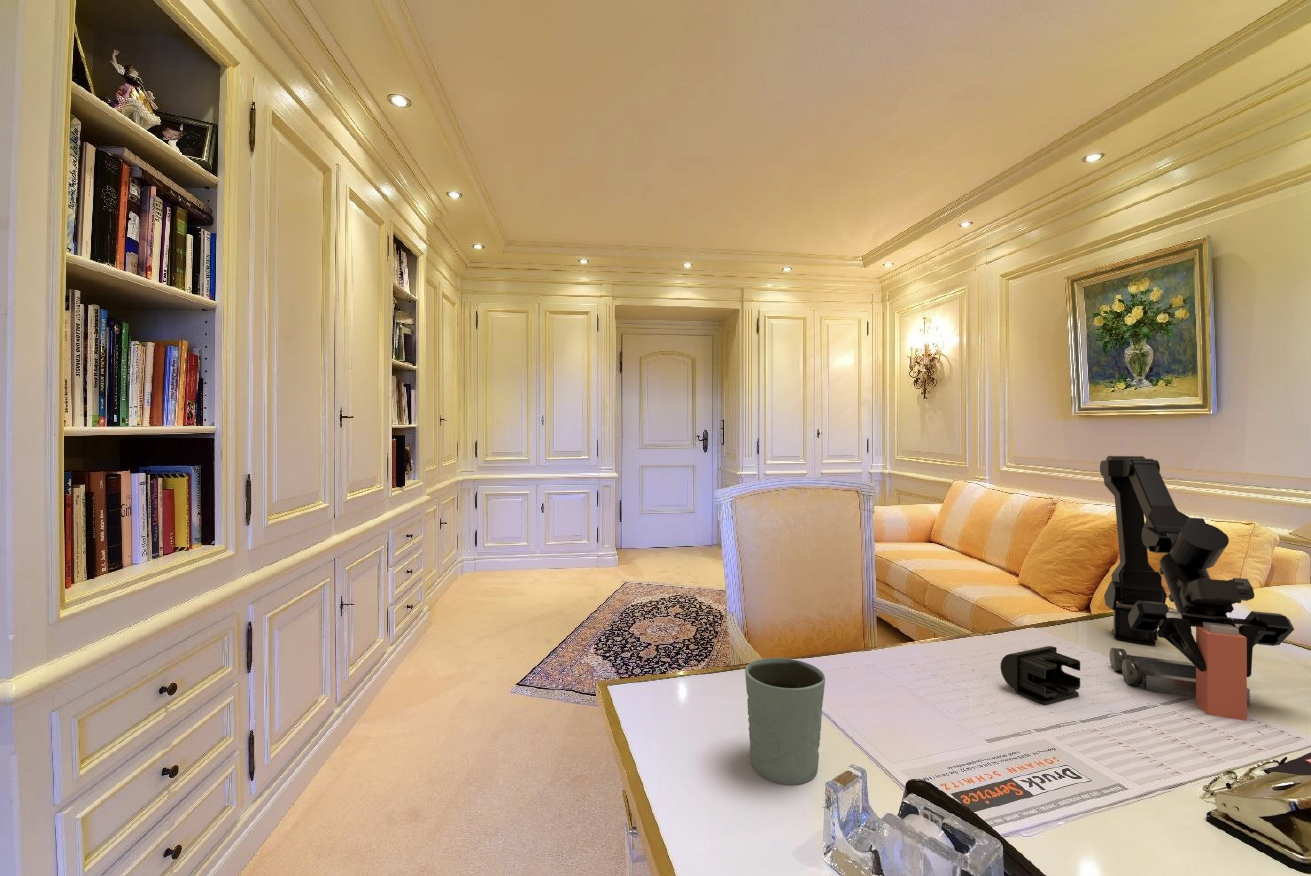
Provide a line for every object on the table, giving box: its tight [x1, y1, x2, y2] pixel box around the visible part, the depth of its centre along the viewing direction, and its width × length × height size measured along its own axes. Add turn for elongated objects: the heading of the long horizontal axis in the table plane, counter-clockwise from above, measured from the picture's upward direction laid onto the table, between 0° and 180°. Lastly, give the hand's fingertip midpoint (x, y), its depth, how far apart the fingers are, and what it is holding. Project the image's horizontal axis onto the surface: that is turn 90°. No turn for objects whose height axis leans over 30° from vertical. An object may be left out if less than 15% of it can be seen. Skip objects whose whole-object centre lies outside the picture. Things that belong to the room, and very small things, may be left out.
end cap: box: [999, 645, 1081, 706], centre depth 92 cm, size 10×7×7 cm
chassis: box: [1109, 647, 1251, 706], centre depth 95 cm, size 10×15×4 cm, turn 66°
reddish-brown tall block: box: [1195, 622, 1248, 721], centre depth 85 cm, size 4×4×14 cm
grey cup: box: [744, 657, 826, 786], centre depth 71 cm, size 10×10×12 cm
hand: (1225, 673), depth 84 cm, fingers open, 5 cm apart
